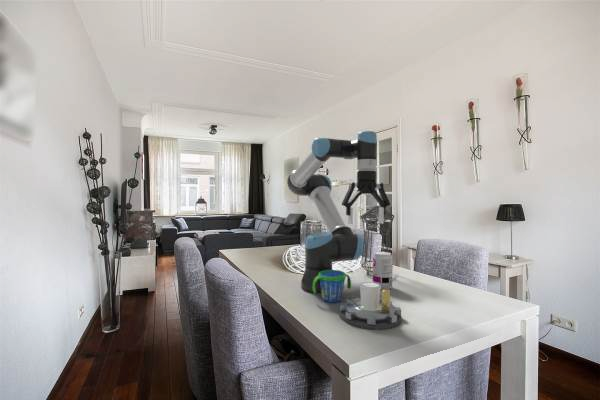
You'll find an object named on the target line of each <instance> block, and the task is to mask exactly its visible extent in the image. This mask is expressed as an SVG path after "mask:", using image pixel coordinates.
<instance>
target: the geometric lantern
mask: <svg viewBox="0 0 600 400" xmlns="http://www.w3.org/2000/svg"><path fill="white" fill-rule="evenodd" d="M379 207H381V206H380V205H374V206H373V207H372V208H371V209H369V210H368V211H366V212H364V213H363V214H361V215H360V216H359V219H361V222H362V226H363V228H362V229H363V233H364V234H363V252H362V255H361V267H362V268H363V269H364V270H365V271H366V275H367V276H371V274H370V272H371V273H373V266H371V263H373V260H372V245H373V244H372V243H373V235H374V234H375V235H381V238H382V244H381V246H382V251H381V252H389V253H391V254H392V252H391V234H390V233H391V232H390V231H391V227H392V224H393V222H394V218H395V215H394V214H392V213H390V212H389V211H388V210H386V211H385V215H384V226H385V227H386V230H385V229H381V228H380V224H381V223H379ZM371 213H372V214H371ZM375 213H376V215H375ZM368 219H369V220H368ZM371 221H375V223H371ZM386 221H389V226H388V227H387V225H386ZM365 223H366V225H367V227H368V229H365ZM369 225H370V226H369ZM375 226H377V228H378V229H375V231H377V232H373V230H374V229H373V228H375ZM370 231H371V232H370ZM379 232H380V233H379ZM383 232H386V233H383ZM384 235H385V242H384ZM369 236H370V237H369ZM369 238H370V248H369ZM384 243H385V244H384ZM384 245H385V249H386V251H384V250H385V249H384ZM368 248H369V251H370V252H369V260H367V259H368ZM368 263H369V265H368Z"/></svg>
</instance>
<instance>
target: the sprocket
mask: <svg viewBox="0 0 600 400" xmlns="http://www.w3.org/2000/svg"><path fill="white" fill-rule="evenodd" d="M339 311H346V318H348V319H350V320H352V319H357V320H360V321H365V322H367V324H372V325H376V322H386V321H387V322H390V323H394V322H397V316H396V315H398V316H401V317H402V308H401V307H400V306H394V305H393V301H391V289H389V290H387V289H383V290H381V299H379V307H378V308H375V309H369V308H365V307H363V306H362V305H361V297H355V298H354V297H347V298H346V302H345V303H344V302H339Z"/></svg>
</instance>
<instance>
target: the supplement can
mask: <svg viewBox="0 0 600 400" xmlns="http://www.w3.org/2000/svg"><path fill="white" fill-rule="evenodd" d="M393 257H394V256H393V255H392V252H391V253H390V251H388V252H386V251H384V252H382V251H375V252H374V253H373V255H372V261H373V262H372V267H373V269H372V271H373V272H372V282H374V283H378V284H380V285H381V290H380V291H382V290H383V289H387V290H391V289H392V288H393V263H394V260H393V259H394V258H393Z"/></svg>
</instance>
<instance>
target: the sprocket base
mask: <svg viewBox="0 0 600 400" xmlns="http://www.w3.org/2000/svg"><path fill="white" fill-rule="evenodd" d="M338 312H339V314H338V315H339V318H340V319H341V320H342V321H343V322H345V323H346V324H348V325H351V326H353V327H356V328H360V329H364V330H365V329H366V330H379V331H380V330H381V331H382V330H389V329H394V328H396V327H398V326H399V325H400V324H402V321H403V320H402V315H401V316H398V315H396V316H397V322H394V323H390V322H387V321H386V322H376V325H372V324H367V322H365V321H360V320H357V319H352V320H350V319H348V318H346V311H340V310H339V311H338Z"/></svg>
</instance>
